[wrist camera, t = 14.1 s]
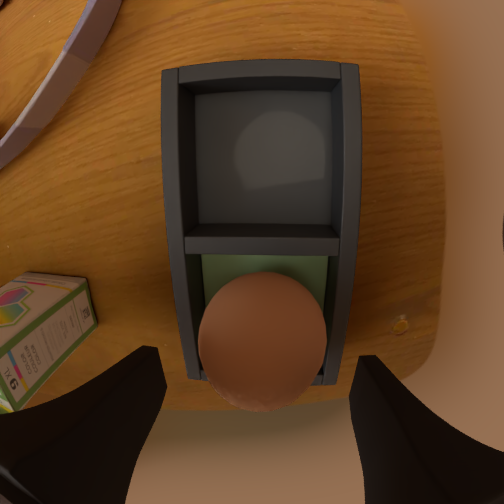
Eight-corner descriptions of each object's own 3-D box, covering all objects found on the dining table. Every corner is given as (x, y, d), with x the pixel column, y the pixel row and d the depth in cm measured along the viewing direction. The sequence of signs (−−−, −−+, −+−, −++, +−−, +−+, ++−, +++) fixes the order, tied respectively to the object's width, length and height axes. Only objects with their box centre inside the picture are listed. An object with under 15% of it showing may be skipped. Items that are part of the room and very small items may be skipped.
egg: (335, 275, 14) (370, 364, 8) (292, 353, 16) (294, 453, 10) (235, 236, 14) (197, 305, 8) (204, 322, 16) (163, 414, 9)
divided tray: (343, 81, 12) (359, 63, 9) (329, 351, 17) (336, 385, 14) (183, 85, 13) (160, 69, 10) (200, 347, 18) (187, 379, 15)
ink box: (87, 274, 17) (-62, 399, 4) (100, 326, 18) (-14, 461, 5) (26, 269, 18) (-95, 354, 5) (39, 314, 19) (-64, 408, 6)
